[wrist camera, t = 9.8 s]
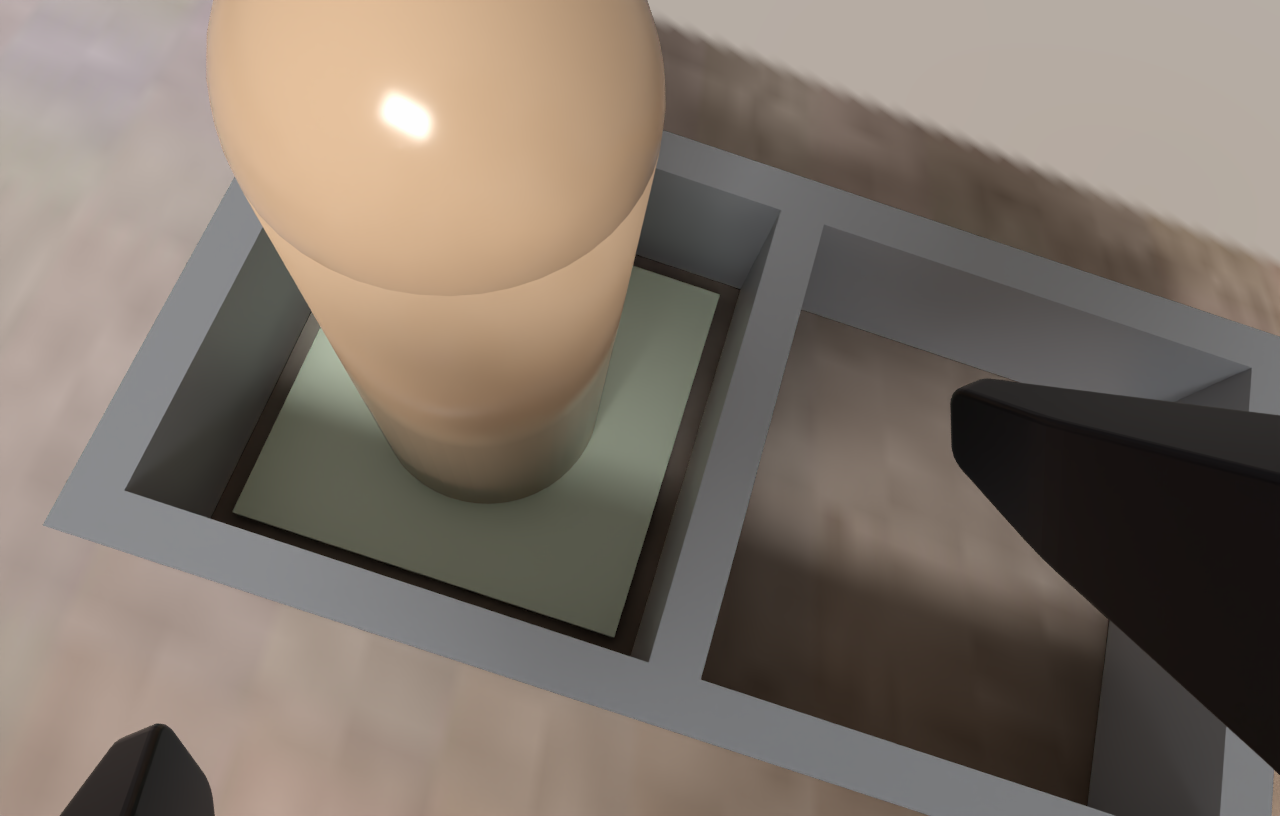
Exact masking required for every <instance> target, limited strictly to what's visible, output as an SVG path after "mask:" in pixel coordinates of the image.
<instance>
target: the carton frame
mask: <svg viewBox="0 0 1280 816" xmlns="http://www.w3.org/2000/svg"><path fill="white" fill-rule="evenodd" d="M636 254H637V255H640V256H643V257H646V258H649V259H652V260H655V261H658V262H661V263H664V264H667V265H670V266H673V267H676V268H679V269H682V270H685V271H688V272H691V273H694V274H697V275H700V276H703V277H706V278H709V279H712V280H715V281H718V282H721V283H724V284H727V285H730V286H733V287H736V288H739V289H741V290H740V293H739V296H738V300H737V303H736V306H735V310H734V313H733V316H732V320H731V323H730V326H729V330H728V333H727V336H726V340H725V343H724V346H723V350H722V353H721V356H720V360H719V363H718V366H717V370H716V373H715V376H714V380H713V383H712V386H711V390H710V393H709V396H708V400H707V403H706V406H705V410H704V413H703V416H702V420H701V423H700V426H699V430H698V433H697V436H696V440H695V443H694V446H693V450H692V453H691V456H690V460H689V463H688V466H687V470H686V473H685V476H684V480H683V483H682V486H681V490H680V493H679V496H678V500H677V503H676V506H675V510H674V513H673V516H672V520H671V523H670V526H669V529H668V533H667V536H666V539H665V543H664V546H663V549H662V553H661V556H660V559H659V563H658V566H657V569H656V573H655V576H654V579H653V583H652V586H651V589H650V593H649V596H648V599H647V603H646V606H645V609H644V613H643V616H642V619H641V623H640V626H639V629H638V633H637V636H636V639H635V643H634V646H633V649H632V653H631V656H627V655H624V654H621V653H618V652H615V651H612V650H609V649H606V648H603V647H600V646H597V645H594V644H591V643H588V642H585V641H582V640H578V639H575V638H572V637H569V636H566V635H563V634H560V633H557V632H554V631H551V630H548V629H545V628H542V627H539V626H536V625H533V624H530V623H527V622H524V621H521V620H518V619H514V618H511V617H508V616H505V615H502V614H499V613H496V612H493V611H490V610H487V609H484V608H481V607H478V606H475V605H472V604H469V603H466V602H463V601H460V600H457V599H454V598H450V597H447V596H444V595H441V594H438V593H435V592H432V591H429V590H426V589H423V588H420V587H417V586H414V585H411V584H408V583H405V582H402V581H399V580H396V579H393V578H390V577H386V576H383V575H380V574H377V573H374V572H371V571H368V570H365V569H362V568H359V567H356V566H353V565H350V564H347V563H344V562H341V561H338V560H335V559H332V558H329V557H326V556H323V555H319V554H316V553H313V552H310V551H307V550H304V549H301V548H298V547H295V546H292V545H289V544H286V543H283V542H280V541H277V540H274V539H271V538H268V537H265V536H262V535H259V534H255V533H252V532H249V531H246V530H243V529H240V528H237V527H234V526H231V525H228V524H225V523H222V522H219V521H216V520H213V519H210V518H211V516H212V514H213V512H214V510H215V508H216V506H217V504H218V502H219V500H220V498H221V496H222V494H223V491H224V489H225V487H226V485H227V483H228V481H229V479H230V477H231V475H232V473H233V471H234V469H235V467H236V465H237V463H238V461H239V459H240V456H241V454H242V452H243V450H244V448H245V446H246V444H247V442H248V440H249V438H250V436H251V434H252V432H253V430H254V428H255V426H256V423H257V421H258V419H259V417H260V415H261V413H262V411H263V409H264V407H265V405H266V403H267V401H268V399H269V397H270V395H271V393H272V391H273V388H274V386H275V384H276V382H277V380H278V378H279V376H280V374H281V372H282V370H283V368H284V366H285V364H286V362H287V360H288V358H289V355H290V353H291V351H292V349H293V347H294V345H295V343H296V341H297V339H298V337H299V335H300V333H301V331H302V329H303V327H304V325H305V323H306V320H307V318H308V316H309V314H310V312H311V309H310V308H309V306H308V304H307V302H306V301H305V299H304V297H303V295H302V294H301V292H300V290H299V289H298V287H297V285H296V283H295V282H294V280H293V278H292V276H291V275H290V273H289V271H288V270H287V268H286V266H285V264H284V263H283V261H282V259H281V257H280V256H279V254H278V252H277V250H276V249H275V247H274V245H273V244H272V242H271V240H270V238H269V237H268V235H267V233H266V231H265V230H264V228H263V226H262V225H261V223H260V221H259V219H258V218H257V216H256V214H255V212H254V211H253V209H252V207H251V205H250V204H249V202H248V200H247V199H246V197H245V195H244V193H243V191H242V190H241V188H240V186H239V184H238V182H237V180H236V178H235V177H234V179H233V181H232V183H231V184H230V186H229V188H228V190H227V192H226V194H225V195H224V197H223V199H222V201H221V203H220V204H219V206H218V208H217V210H216V212H215V213H214V215H213V217H212V219H211V221H210V223H209V224H208V226H207V228H206V230H205V232H204V233H203V235H202V237H201V239H200V241H199V243H198V244H197V246H196V248H195V250H194V252H193V253H192V255H191V257H190V259H189V261H188V262H187V264H186V266H185V268H184V270H183V272H182V273H181V275H180V277H179V279H178V281H177V282H176V284H175V286H174V288H173V290H172V292H171V293H170V295H169V297H168V299H167V301H166V302H165V304H164V306H163V308H162V310H161V311H160V313H159V315H158V317H157V319H156V321H155V322H154V324H153V326H152V328H151V330H150V331H149V333H148V335H147V337H146V339H145V341H144V342H143V344H142V346H141V348H140V350H139V351H138V353H137V355H136V357H135V359H134V360H133V362H132V364H131V366H130V368H129V370H128V371H127V373H126V375H125V377H124V379H123V380H122V382H121V384H120V386H119V388H118V390H117V391H116V393H115V395H114V397H113V399H112V400H111V402H110V404H109V406H108V408H107V409H106V411H105V413H104V415H103V417H102V419H101V420H100V422H99V424H98V426H97V428H96V429H95V431H94V433H93V435H92V437H91V439H90V440H89V442H88V444H87V446H86V448H85V449H84V451H83V453H82V455H81V457H80V458H79V460H78V462H77V464H76V466H75V468H74V469H73V471H72V473H71V475H70V477H69V478H68V480H67V482H66V484H65V486H64V488H63V489H62V491H61V493H60V495H59V497H58V498H57V500H56V502H55V504H54V506H53V507H52V509H51V511H50V513H49V515H48V517H47V518H46V520H45V522H44V524H43V526H46V527H49V528H53V529H56V530H59V531H62V532H65V533H68V534H71V535H74V536H77V537H80V538H83V539H86V540H89V541H92V542H95V543H98V544H101V545H104V546H108V547H111V548H114V549H117V550H120V551H123V552H126V553H129V554H132V555H135V556H138V557H141V558H144V559H147V560H150V561H153V562H156V563H159V564H162V565H166V566H169V567H172V568H175V569H178V570H181V571H184V572H187V573H190V574H193V575H196V576H199V577H202V578H205V579H208V580H211V581H214V582H217V583H221V584H224V585H227V586H230V587H233V588H236V589H239V590H242V591H245V592H248V593H251V594H254V595H257V596H260V597H263V598H266V599H269V600H272V601H276V602H279V603H282V604H285V605H288V606H291V607H294V608H297V609H300V610H303V611H306V612H309V613H312V614H315V615H318V616H321V617H324V618H327V619H331V620H334V621H337V622H340V623H343V624H346V625H349V626H352V627H355V628H358V629H361V630H364V631H367V632H370V633H373V634H376V635H379V636H382V637H385V638H389V639H392V640H395V641H398V642H401V643H404V644H407V645H410V646H413V647H416V648H419V649H422V650H425V651H428V652H431V653H434V654H437V655H440V656H444V657H447V658H450V659H453V660H456V661H459V662H462V663H465V664H468V665H471V666H474V667H477V668H480V669H483V670H486V671H489V672H492V673H495V674H499V675H502V676H505V677H508V678H511V679H514V680H517V681H520V682H523V683H526V684H529V685H532V686H535V687H538V688H541V689H544V690H547V691H550V692H553V693H557V694H560V695H563V696H566V697H569V698H572V699H575V700H578V701H581V702H584V703H587V704H590V705H593V706H596V707H599V708H602V709H605V710H608V711H612V712H615V713H618V714H621V715H624V716H627V717H630V718H633V719H636V720H639V721H642V722H645V723H648V724H651V725H654V726H657V727H660V728H663V729H667V730H670V731H673V732H676V733H679V734H682V735H685V736H688V737H691V738H694V739H697V740H700V741H703V742H706V743H709V744H712V745H715V746H718V747H722V748H725V749H728V750H731V751H734V752H737V753H740V754H743V755H746V756H749V757H752V758H755V759H758V760H761V761H764V762H767V763H770V764H773V765H776V766H780V767H783V768H786V769H789V770H792V771H795V772H798V773H801V774H804V775H807V776H810V777H813V778H816V779H819V780H822V781H825V782H828V783H831V784H835V785H838V786H841V787H844V788H847V789H850V790H853V791H856V792H859V793H862V794H865V795H868V796H871V797H874V798H877V799H880V800H883V801H886V802H890V803H893V804H896V805H899V806H902V807H905V808H908V809H911V810H914V811H917V812H920V813H923V814H926V815H929V816H1271V814H1272V796H1273V777H1274V769H1273V768H1272V767H1270V766H1269V765H1268V764H1267V763H1266V762H1265V761H1264V760H1263V759H1262V758H1261V757H1259V756H1258V755H1257V754H1256V753H1255V752H1254V751H1253V750H1252V749H1251V748H1250V747H1248V746H1247V745H1246V744H1245V743H1244V742H1243V741H1242V740H1241V739H1240V738H1239V737H1237V736H1236V735H1235V734H1234V733H1233V732H1232V731H1231V730H1230V729H1229V728H1228V727H1226V726H1225V725H1224V724H1223V723H1222V722H1221V721H1220V720H1219V719H1218V718H1217V717H1215V716H1214V715H1213V714H1212V713H1211V712H1210V711H1209V710H1208V709H1207V708H1206V707H1204V706H1203V705H1202V704H1201V703H1200V702H1199V701H1198V700H1197V699H1196V698H1195V697H1193V696H1192V695H1191V694H1190V693H1189V692H1188V691H1187V690H1186V689H1185V688H1184V687H1182V686H1181V685H1180V684H1179V683H1178V682H1177V681H1176V680H1175V679H1174V678H1173V677H1171V676H1170V675H1169V674H1168V673H1167V672H1166V671H1165V670H1164V669H1163V668H1162V667H1160V666H1159V665H1158V664H1157V663H1156V662H1155V661H1154V660H1153V659H1152V658H1151V657H1149V656H1148V655H1147V654H1146V653H1145V652H1144V651H1143V650H1142V649H1141V648H1140V647H1138V646H1137V645H1136V644H1135V643H1134V642H1133V641H1132V640H1131V639H1130V638H1129V637H1127V636H1126V635H1125V634H1124V633H1123V632H1122V631H1121V630H1120V629H1119V628H1118V627H1117V626H1115V625H1114V624H1113V623H1112V622H1111V621H1110V620H1109V629H1108V637H1107V645H1106V654H1105V662H1104V671H1103V679H1102V687H1101V696H1100V704H1099V712H1098V721H1097V729H1096V737H1095V746H1094V754H1093V762H1092V771H1091V779H1090V788H1089V796H1088V804H1087V806H1084V805H1081V804H1078V803H1075V802H1072V801H1069V800H1066V799H1063V798H1060V797H1057V796H1054V795H1051V794H1048V793H1045V792H1042V791H1039V790H1036V789H1033V788H1029V787H1026V786H1023V785H1020V784H1017V783H1014V782H1011V781H1008V780H1005V779H1002V778H999V777H996V776H993V775H990V774H987V773H984V772H981V771H978V770H975V769H972V768H969V767H965V766H962V765H959V764H956V763H953V762H950V761H947V760H944V759H941V758H938V757H935V756H932V755H929V754H926V753H923V752H920V751H917V750H914V749H911V748H908V747H905V746H902V745H898V744H895V743H892V742H889V741H886V740H883V739H880V738H877V737H874V736H871V735H868V734H865V733H862V732H859V731H856V730H853V729H850V728H847V727H844V726H841V725H838V724H834V723H831V722H828V721H825V720H822V719H819V718H816V717H813V716H810V715H807V714H804V713H801V712H798V711H795V710H792V709H789V708H786V707H783V706H780V705H777V704H774V703H770V702H767V701H764V700H761V699H758V698H755V697H752V696H749V695H746V694H743V693H740V692H737V691H734V690H731V689H728V688H725V687H722V686H719V685H716V684H713V683H710V682H706V681H703V680H701V677H702V673H703V669H704V666H705V662H706V658H707V655H708V651H709V647H710V644H711V640H712V636H713V633H714V629H715V625H716V622H717V618H718V614H719V610H720V607H721V603H722V599H723V596H724V592H725V588H726V585H727V581H728V577H729V574H730V570H731V566H732V562H733V559H734V555H735V551H736V548H737V544H738V540H739V537H740V533H741V529H742V526H743V522H744V518H745V515H746V511H747V507H748V503H749V500H750V496H751V492H752V489H753V485H754V481H755V478H756V474H757V470H758V467H759V463H760V459H761V455H762V452H763V448H764V444H765V441H766V437H767V433H768V430H769V426H770V422H771V419H772V415H773V411H774V407H775V404H776V400H777V396H778V393H779V389H780V385H781V382H782V378H783V374H784V371H785V367H786V363H787V360H788V356H789V352H790V348H791V345H792V341H793V337H794V334H795V330H796V326H797V323H798V319H799V315H800V312H801V309H802V310H805V311H808V312H811V313H814V314H817V315H820V316H823V317H826V318H829V319H832V320H835V321H838V322H841V323H844V324H847V325H850V326H853V327H856V328H859V329H862V330H865V331H868V332H871V333H874V334H877V335H880V336H883V337H886V338H889V339H892V340H895V341H898V342H901V343H904V344H907V345H910V346H913V347H916V348H919V349H922V350H925V351H928V352H931V353H934V354H937V355H940V356H943V357H946V358H949V359H952V360H955V361H958V362H961V363H964V364H967V365H970V366H973V367H976V368H979V369H982V370H985V371H988V372H991V373H994V374H997V375H1000V376H1003V377H1006V378H1009V379H1012V380H1015V381H1018V382H1021V383H1027V384H1035V385H1043V386H1051V387H1059V388H1067V389H1075V390H1083V391H1091V392H1099V393H1107V394H1115V395H1123V396H1131V397H1139V398H1147V399H1155V400H1163V401H1171V402H1178V403H1186V404H1194V405H1202V406H1210V407H1218V408H1226V409H1234V410H1242V411H1250V412H1258V413H1266V414H1274V415H1280V337H1279V336H1276V335H1273V334H1270V333H1267V332H1264V331H1261V330H1258V329H1255V328H1252V327H1249V326H1246V325H1243V324H1240V323H1237V322H1234V321H1231V320H1228V319H1225V318H1222V317H1220V316H1217V315H1214V314H1211V313H1208V312H1205V311H1202V310H1199V309H1196V308H1193V307H1190V306H1187V305H1184V304H1181V303H1178V302H1175V301H1172V300H1169V299H1166V298H1163V297H1160V296H1157V295H1154V294H1151V293H1148V292H1145V291H1142V290H1139V289H1136V288H1133V287H1130V286H1127V285H1124V284H1121V283H1118V282H1115V281H1112V280H1109V279H1106V278H1103V277H1100V276H1097V275H1094V274H1091V273H1088V272H1085V271H1082V270H1079V269H1076V268H1073V267H1070V266H1067V265H1064V264H1061V263H1058V262H1055V261H1052V260H1049V259H1046V258H1043V257H1040V256H1037V255H1034V254H1032V253H1029V252H1026V251H1023V250H1020V249H1017V248H1014V247H1011V246H1008V245H1005V244H1002V243H999V242H996V241H993V240H990V239H987V238H984V237H981V236H978V235H975V234H972V233H969V232H966V231H963V230H960V229H957V228H954V227H951V226H948V225H945V224H942V223H939V222H936V221H933V220H930V219H927V218H924V217H921V216H918V215H915V214H912V213H909V212H906V211H903V210H900V209H897V208H894V207H891V206H888V205H885V204H882V203H879V202H876V201H873V200H870V199H867V198H864V197H861V196H858V195H855V194H852V193H849V192H846V191H843V190H841V189H838V188H835V187H832V186H829V185H826V184H823V183H820V182H817V181H814V180H811V179H808V178H805V177H802V176H799V175H796V174H793V173H790V172H787V171H784V170H781V169H778V168H775V167H772V166H769V165H766V164H763V163H760V162H757V161H754V160H751V159H748V158H745V157H742V156H739V155H736V154H733V153H730V152H727V151H724V150H721V149H718V148H715V147H712V146H709V145H706V144H703V143H700V142H697V141H694V140H691V139H688V138H685V137H682V136H679V135H676V134H673V133H670V132H667V131H664V130H663V133H662V140H661V147H660V152H659V157H658V161H657V165H656V169H655V174H654V178H653V182H652V186H651V191H650V195H649V199H648V203H647V208H646V212H645V216H644V220H643V225H642V229H641V233H640V238H639V242H638V246H637V250H636ZM719 296H720V294H717V293H714V292H711V291H708V290H705V289H702V288H699V287H696V286H693V285H690V284H687V283H684V282H681V281H678V280H675V279H672V278H669V277H666V276H663V275H660V274H657V273H654V272H651V271H648V270H645V269H642V268H639V267H636V266H633V267H632V272H631V276H630V280H629V284H628V289H627V293H626V297H625V301H624V306H623V310H622V314H621V318H620V323H619V327H618V331H617V335H616V340H615V344H614V348H613V352H612V357H611V361H610V365H609V369H608V374H607V378H606V382H605V386H604V391H603V395H602V399H601V403H600V408H599V412H598V416H597V420H596V424H595V427H594V431H593V434H592V436H591V438H590V441H589V443H588V445H587V447H586V449H585V450H584V452H583V453H582V455H581V457H580V458H579V459H578V461H577V462H576V463H575V464H574V465H573V467H572V468H571V469H570V470H569V471H568V472H567V473H566V474H564V475H563V476H562V477H561V478H560V479H559V480H557V481H556V482H554V483H553V484H552V485H550V486H549V487H547V488H545V489H543V490H541V491H539V492H538V493H536V494H533V495H530V496H528V497H525V498H522V499H518V500H514V501H510V502H504V503H495V504H481V503H471V502H465V501H460V500H457V499H453V498H450V497H447V496H445V495H442V494H440V493H438V492H436V491H434V490H432V489H430V488H429V487H427V486H425V485H424V484H422V483H421V482H420V481H419V480H417V479H416V478H415V477H414V476H412V475H411V474H410V473H409V472H408V471H407V470H406V469H405V467H404V466H403V465H402V464H401V463H400V461H399V460H398V459H397V457H396V456H395V454H394V453H393V451H392V450H391V448H390V446H389V444H388V443H387V441H386V439H385V437H384V436H383V434H382V432H381V430H380V429H379V427H378V425H377V424H376V422H375V420H374V418H373V417H372V415H371V413H370V411H369V410H368V408H367V406H366V405H365V403H364V401H363V399H362V398H361V396H360V394H359V392H358V391H357V389H356V387H355V385H354V384H353V382H352V380H351V379H350V377H349V375H348V373H347V372H346V370H345V368H344V366H343V365H342V363H341V361H340V360H339V358H338V356H337V354H336V353H335V351H334V349H333V347H332V346H331V344H330V342H329V340H328V339H327V337H326V335H325V334H324V332H323V330H322V328H321V327H320V329H319V331H318V333H317V336H316V338H315V340H314V342H313V344H312V346H311V348H310V350H309V352H308V354H307V357H306V359H305V361H304V363H303V365H302V367H301V369H300V371H299V373H298V375H297V377H296V380H295V382H294V384H293V386H292V388H291V390H290V392H289V394H288V396H287V398H286V400H285V403H284V405H283V407H282V409H281V411H280V413H279V415H278V417H277V419H276V421H275V424H274V426H273V428H272V430H271V432H270V434H269V436H268V438H267V440H266V442H265V444H264V447H263V449H262V451H261V453H260V455H259V457H258V459H257V461H256V463H255V465H254V467H253V470H252V472H251V474H250V476H249V478H248V480H247V482H246V484H245V486H244V488H243V490H242V493H241V495H240V497H239V499H238V501H237V503H236V505H235V507H234V509H233V511H232V512H233V513H235V514H237V515H240V516H243V517H246V518H249V519H252V520H255V521H258V522H261V523H264V524H267V525H270V526H274V527H277V528H280V529H283V530H286V531H289V532H292V533H295V534H298V535H301V536H304V537H307V538H310V539H313V540H316V541H319V542H322V543H325V544H328V545H331V546H334V547H338V548H341V549H344V550H347V551H350V552H353V553H356V554H359V555H362V556H365V557H368V558H371V559H374V560H377V561H380V562H383V563H386V564H389V565H392V566H395V567H398V568H401V569H405V570H408V571H411V572H414V573H417V574H420V575H423V576H426V577H429V578H432V579H435V580H438V581H441V582H444V583H447V584H450V585H453V586H456V587H459V588H462V589H465V590H468V591H472V592H475V593H478V594H481V595H484V596H487V597H490V598H493V599H496V600H499V601H502V602H505V603H508V604H511V605H514V606H517V607H520V608H523V609H526V610H529V611H532V612H535V613H539V614H542V615H545V616H548V617H551V618H554V619H557V620H560V621H563V622H566V623H569V624H572V625H575V626H578V627H581V628H584V629H587V630H590V631H593V632H596V633H599V634H602V635H606V636H609V637H612V638H614V636H615V633H616V630H617V627H618V623H619V620H620V617H621V614H622V610H623V607H624V604H625V601H626V597H627V594H628V591H629V588H630V584H631V581H632V578H633V575H634V571H635V568H636V565H637V562H638V558H639V555H640V552H641V549H642V546H643V542H644V539H645V536H646V533H647V529H648V526H649V523H650V520H651V516H652V513H653V510H654V507H655V503H656V500H657V497H658V494H659V490H660V487H661V484H662V481H663V477H664V474H665V471H666V468H667V464H668V461H669V458H670V455H671V452H672V448H673V445H674V442H675V439H676V435H677V432H678V429H679V426H680V422H681V419H682V416H683V413H684V409H685V406H686V403H687V400H688V396H689V393H690V390H691V387H692V383H693V380H694V377H695V374H696V371H697V367H698V364H699V361H700V358H701V354H702V351H703V348H704V345H705V341H706V338H707V335H708V332H709V328H710V325H711V322H712V319H713V315H714V312H715V309H716V306H717V302H718V299H719Z"/></svg>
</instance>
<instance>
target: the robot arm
mask: <svg viewBox="0 0 1280 816" xmlns="http://www.w3.org/2000/svg"><path fill="white" fill-rule="evenodd" d="M950 405H951V442H952V451H953V455H954V458H955V460H956V462H957V463H958V465H959V467H960V468H961V469H962V470H963V472H964V473H965V474H966V475H967V476H968V477H969V478H970V479H971V480H972V482H973V483H974V484H975V485H976V486H977V487H978V488H979V489H980V490H981V492H982V493H983V494H984V495H985V496H986V497H987V498H988V499H989V501H990V502H991V503H992V504H993V505H994V506H995V507H996V508H997V509H998V511H999V512H1000V513H1001V514H1002V515H1003V516H1004V517H1005V518H1006V520H1007V521H1008V522H1009V523H1010V524H1011V525H1012V526H1013V527H1014V528H1015V530H1016V531H1017V532H1018V533H1019V534H1020V535H1021V536H1022V537H1023V539H1024V540H1025V541H1026V542H1027V543H1028V544H1029V545H1030V546H1031V547H1032V548H1033V549H1034V550H1035V551H1036V552H1037V553H1038V554H1039V555H1040V557H1041V558H1042V559H1044V560H1045V561H1046V562H1047V563H1048V564H1049V565H1050V566H1051V567H1052V568H1053V569H1054V570H1055V571H1056V572H1057V573H1058V574H1059V575H1060V576H1062V577H1063V578H1064V579H1065V580H1066V581H1067V582H1068V583H1069V584H1070V585H1071V586H1073V587H1074V588H1075V589H1076V590H1077V591H1078V592H1079V593H1080V594H1081V595H1082V596H1084V597H1085V598H1086V599H1087V600H1088V601H1089V602H1090V603H1091V604H1092V605H1093V606H1095V607H1096V608H1097V609H1098V610H1099V611H1100V612H1101V613H1102V614H1103V615H1104V616H1106V617H1107V618H1108V619H1109V620H1110V621H1111V622H1112V623H1113V624H1114V625H1115V626H1117V627H1118V628H1119V629H1120V630H1121V631H1122V632H1123V633H1124V634H1125V635H1126V636H1127V637H1129V638H1130V639H1131V640H1132V641H1133V642H1134V643H1135V644H1136V645H1137V646H1138V647H1140V648H1141V649H1142V650H1143V651H1144V652H1145V653H1146V654H1147V655H1148V656H1149V657H1151V658H1152V659H1153V660H1154V661H1155V662H1156V663H1157V664H1158V665H1159V666H1160V667H1162V668H1163V669H1164V670H1165V671H1166V672H1167V673H1168V674H1169V675H1170V676H1171V677H1173V678H1174V679H1175V680H1176V681H1177V682H1178V683H1179V684H1180V685H1181V686H1182V687H1184V688H1185V689H1186V690H1187V691H1188V692H1189V693H1190V694H1191V695H1192V696H1193V697H1195V698H1196V699H1197V700H1198V701H1199V702H1200V703H1201V704H1202V705H1203V706H1204V707H1206V708H1207V709H1208V710H1209V711H1210V712H1211V713H1212V714H1213V715H1214V716H1215V717H1217V718H1218V719H1219V720H1220V721H1221V722H1222V723H1223V724H1224V725H1225V726H1226V727H1228V728H1229V729H1230V730H1231V731H1232V732H1233V733H1234V734H1235V735H1236V736H1237V737H1239V738H1240V739H1241V740H1242V741H1243V742H1244V743H1245V744H1246V745H1247V746H1248V747H1250V748H1251V749H1252V750H1253V751H1254V752H1255V753H1256V754H1257V755H1258V756H1259V757H1261V758H1262V759H1263V760H1264V761H1265V762H1266V763H1267V764H1268V765H1269V766H1270V767H1272V768H1273V769H1274V770H1275V771H1276V772H1277V773H1278V774H1279V775H1280V415H1274V414H1266V413H1258V412H1250V411H1242V410H1234V409H1226V408H1218V407H1210V406H1202V405H1194V404H1186V403H1178V402H1171V401H1163V400H1155V399H1147V398H1139V397H1131V396H1123V395H1115V394H1107V393H1099V392H1091V391H1083V390H1075V389H1067V388H1059V387H1051V386H1043V385H1035V384H1027V383H1019V382H1011V381H1003V380H995V379H981V380H978V381H976V382H973V383H971V384H968V385H966V386H964V387H961V388H959V389H957V390H956V391H955V392H954V393H953V395H952V398H951V404H950ZM60 816H215V814H214V804H213V797H212V792H211V788H210V785H209V782H208V780H207V778H206V776H205V774H204V773H203V771H202V770H201V769H200V767H199V766H198V765H197V763H196V762H195V760H194V759H193V758H192V756H191V755H190V753H189V752H188V751H187V749H186V748H185V747H184V745H183V744H182V742H181V741H180V740H179V738H178V737H177V736H176V734H175V733H174V732H173V730H172V729H171V728H169V727H168V726H167V725H165V724H154V725H152V726H149V727H147V728H144V729H142V730H140V731H137V732H135V733H132V734H130V735H128V736H125V737H123V738H121V739H119V740H118V741H116V742H115V743H114V744H113V746H112V747H111V748H110V749H109V750H108V752H107V753H106V754H105V756H104V757H103V758H102V760H101V761H100V762H99V764H98V765H97V766H96V768H95V769H94V771H93V772H92V773H91V775H90V776H89V777H88V779H87V780H86V781H85V783H84V784H83V785H82V787H81V788H80V789H79V791H78V792H77V793H76V795H75V796H74V797H73V799H72V800H71V801H70V803H69V804H68V805H67V807H66V808H65V809H64V811H63V812H62V813H61V815H60Z"/></svg>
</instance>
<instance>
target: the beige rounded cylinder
mask: <svg viewBox="0 0 1280 816" xmlns="http://www.w3.org/2000/svg"><path fill="white" fill-rule="evenodd" d="M206 80H207V87H208V93H209V100H210V106H211V111H212V115H213V120H214V125H215V128H216V131H217V134H218V137H219V140H220V144H221V147H222V150H223V152H224V154H225V157H226V159H227V161H228V163H229V166H230V168H231V170H232V172H233V174H234V176H235V178H236V180H237V182H238V184H239V186H240V188H241V190H242V191H243V193H244V195H245V197H246V199H247V200H248V202H249V204H250V205H251V207H252V209H253V211H254V212H255V214H256V216H257V218H258V219H259V221H260V223H261V225H262V226H263V228H264V230H265V231H266V233H267V235H268V237H269V238H270V240H271V242H272V244H273V245H274V247H275V249H276V250H277V252H278V254H279V256H280V257H281V259H282V261H283V263H284V264H285V266H286V268H287V270H288V271H289V273H290V275H291V276H292V278H293V280H294V282H295V283H296V285H297V287H298V289H299V290H300V292H301V294H302V295H303V297H304V299H305V301H306V302H307V304H308V306H309V308H310V309H311V311H312V313H313V315H314V316H315V318H316V320H317V321H318V323H319V325H320V327H321V328H322V330H323V332H324V334H325V335H326V337H327V339H328V340H329V342H330V344H331V346H332V347H333V349H334V351H335V353H336V354H337V356H338V358H339V360H340V361H341V363H342V365H343V366H344V368H345V370H346V372H347V373H348V375H349V377H350V379H351V380H352V382H353V384H354V385H355V387H356V389H357V391H358V392H359V394H360V396H361V398H362V399H363V401H364V403H365V405H366V406H367V408H368V410H369V411H370V413H371V415H372V417H373V418H374V420H375V422H376V424H377V425H378V427H379V429H380V430H381V432H382V434H383V436H384V437H385V439H386V441H387V443H388V444H389V446H390V448H391V450H392V451H393V453H394V454H395V456H396V457H397V459H398V460H399V461H400V463H401V464H402V465H403V466H404V467H405V469H406V470H407V471H408V472H409V473H410V474H411V475H412V476H414V477H415V478H416V479H417V480H419V481H420V482H421V483H422V484H424V485H425V486H427V487H429V488H430V489H432V490H434V491H436V492H438V493H440V494H442V495H445V496H447V497H450V498H453V499H457V500H460V501H465V502H471V503H481V504H495V503H504V502H510V501H514V500H518V499H522V498H525V497H528V496H530V495H533V494H536V493H538V492H539V491H541V490H543V489H545V488H547V487H549V486H550V485H552V484H553V483H554V482H556V481H557V480H559V479H560V478H561V477H562V476H563V475H564V474H566V473H567V472H568V471H569V470H570V469H571V468H572V467H573V465H574V464H575V463H576V462H577V461H578V459H579V458H580V457H581V455H582V453H583V452H584V450H585V449H586V447H587V445H588V443H589V441H590V438H591V436H592V434H593V431H594V427H595V424H596V420H597V416H598V412H599V408H600V403H601V399H602V395H603V391H604V386H605V382H606V378H607V374H608V369H609V365H610V361H611V357H612V352H613V348H614V344H615V340H616V335H617V331H618V327H619V323H620V318H621V314H622V310H623V306H624V301H625V297H626V293H627V289H628V284H629V280H630V276H631V272H632V267H633V263H634V259H635V255H636V250H637V246H638V242H639V238H640V233H641V229H642V225H643V220H644V216H645V212H646V208H647V203H648V199H649V195H650V191H651V186H652V182H653V178H654V174H655V169H656V165H657V161H658V157H659V152H660V147H661V140H662V133H663V126H664V118H665V110H666V93H665V73H664V63H663V57H662V51H661V45H660V40H659V37H658V33H657V29H656V26H655V22H654V19H653V16H652V13H651V10H650V7H649V4H648V1H647V0H213V4H212V8H211V14H210V19H209V24H208V29H207V52H206Z"/></svg>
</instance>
